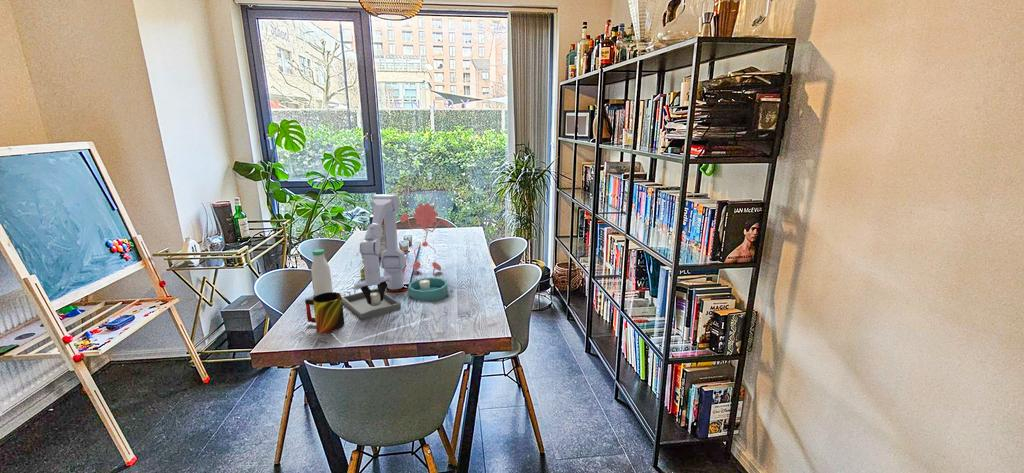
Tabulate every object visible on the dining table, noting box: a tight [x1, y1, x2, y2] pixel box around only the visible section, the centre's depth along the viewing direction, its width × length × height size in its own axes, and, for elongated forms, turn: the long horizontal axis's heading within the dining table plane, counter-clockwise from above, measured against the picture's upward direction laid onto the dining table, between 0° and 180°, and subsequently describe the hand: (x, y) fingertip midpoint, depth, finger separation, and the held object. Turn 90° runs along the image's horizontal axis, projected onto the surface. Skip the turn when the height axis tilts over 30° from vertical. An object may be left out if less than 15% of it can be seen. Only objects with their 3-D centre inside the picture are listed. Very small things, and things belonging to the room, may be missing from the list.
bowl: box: [407, 277, 449, 302], centre depth 192 cm, size 17×17×4 cm
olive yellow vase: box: [359, 259, 365, 281], centre depth 211 cm, size 7×7×10 cm
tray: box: [341, 287, 402, 321], centre depth 179 cm, size 22×16×3 cm
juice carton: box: [368, 212, 387, 260], centre depth 245 cm, size 12×8×24 cm, turn 10°
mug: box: [304, 291, 345, 335], centre depth 160 cm, size 10×14×12 cm
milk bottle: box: [310, 248, 334, 297], centre depth 191 cm, size 8×8×20 cm
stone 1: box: [370, 292, 381, 306], centre depth 174 cm, size 4×4×4 cm
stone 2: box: [420, 280, 430, 291], centre depth 194 cm, size 4×4×4 cm
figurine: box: [399, 202, 451, 276], centre depth 219 cm, size 15×26×35 cm, turn 82°
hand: (375, 301), depth 175 cm, fingers closed on stone 1, 4 cm apart
